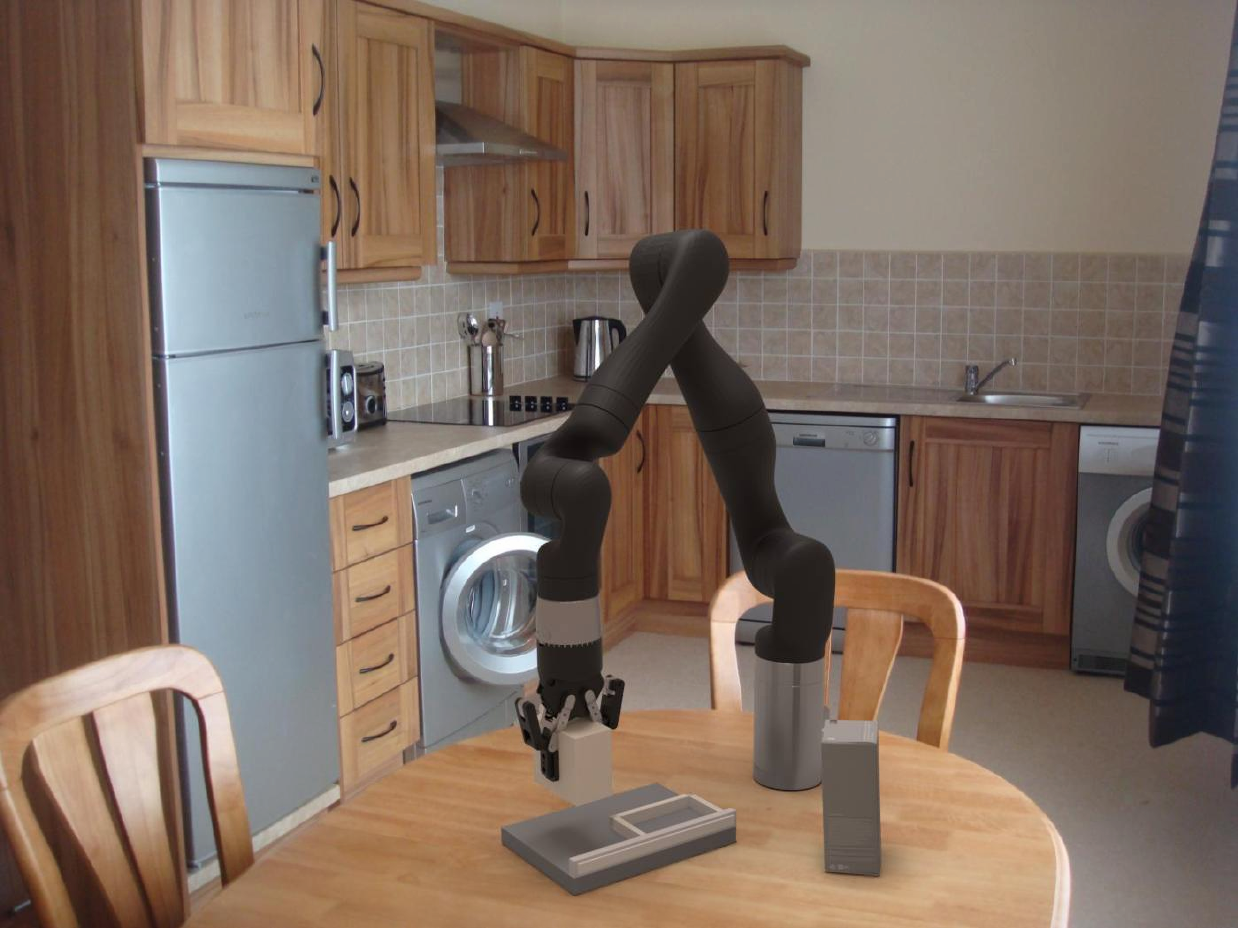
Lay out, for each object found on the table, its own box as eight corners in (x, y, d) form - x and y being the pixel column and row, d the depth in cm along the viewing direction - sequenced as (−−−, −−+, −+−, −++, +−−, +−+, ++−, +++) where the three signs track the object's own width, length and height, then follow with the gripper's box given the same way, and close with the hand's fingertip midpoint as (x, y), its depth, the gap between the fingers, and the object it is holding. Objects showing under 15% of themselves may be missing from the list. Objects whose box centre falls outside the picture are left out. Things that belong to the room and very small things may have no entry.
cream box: (534, 780, 160) (532, 716, 159) (570, 770, 163) (569, 706, 161) (576, 806, 153) (574, 738, 151) (613, 794, 156) (612, 728, 154)
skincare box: (880, 878, 153) (884, 744, 151) (816, 872, 155) (819, 740, 152) (881, 845, 161) (885, 718, 159) (820, 840, 163) (823, 714, 160)
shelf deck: (656, 796, 175) (656, 767, 175) (737, 842, 162) (737, 810, 162) (501, 842, 162) (500, 811, 162) (575, 896, 149) (574, 862, 149)
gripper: (602, 613, 161) (605, 748, 164) (497, 636, 153) (502, 778, 156) (639, 628, 155) (642, 768, 158) (532, 652, 147) (537, 799, 150)
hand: (572, 772), depth 157 cm, fingers closed on cream box, 5 cm apart
